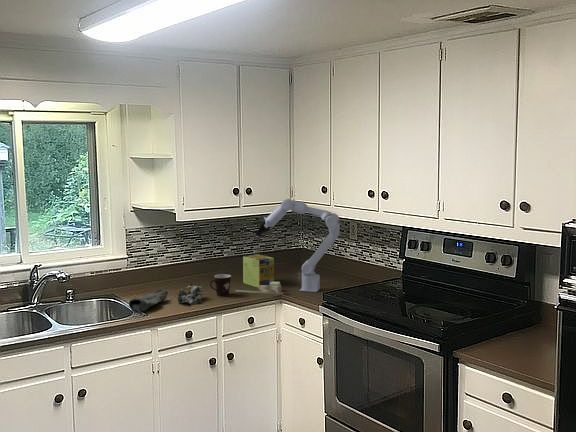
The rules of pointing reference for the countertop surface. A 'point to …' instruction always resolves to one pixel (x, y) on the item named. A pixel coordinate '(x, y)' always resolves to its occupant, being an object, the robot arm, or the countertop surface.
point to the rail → (256, 292)
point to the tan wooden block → (270, 289)
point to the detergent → (148, 300)
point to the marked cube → (274, 283)
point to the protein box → (258, 270)
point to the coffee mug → (222, 284)
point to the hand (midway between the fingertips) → (258, 233)
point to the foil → (195, 296)
